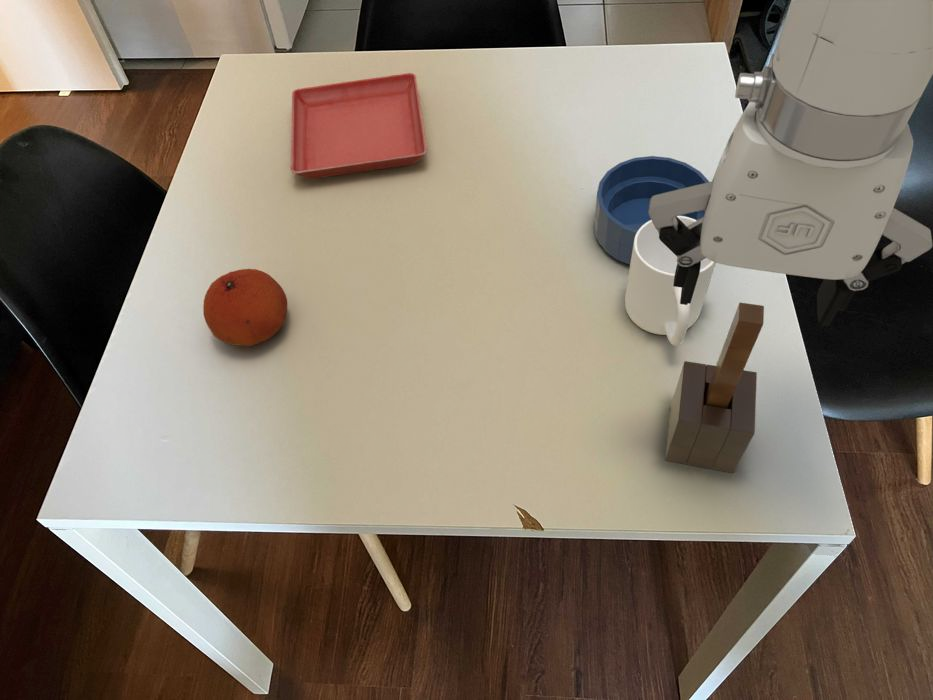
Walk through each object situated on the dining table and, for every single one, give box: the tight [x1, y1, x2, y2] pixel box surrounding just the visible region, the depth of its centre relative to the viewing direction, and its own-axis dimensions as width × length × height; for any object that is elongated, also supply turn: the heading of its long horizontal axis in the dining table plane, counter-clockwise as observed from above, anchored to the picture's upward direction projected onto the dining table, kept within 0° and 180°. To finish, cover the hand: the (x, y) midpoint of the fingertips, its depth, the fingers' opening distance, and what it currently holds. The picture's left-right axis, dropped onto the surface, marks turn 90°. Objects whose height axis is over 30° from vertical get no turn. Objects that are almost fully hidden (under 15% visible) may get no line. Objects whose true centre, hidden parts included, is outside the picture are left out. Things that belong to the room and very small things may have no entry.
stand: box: [664, 360, 758, 474], centre depth 67 cm, size 6×6×8 cm
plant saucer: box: [290, 72, 428, 179], centre depth 100 cm, size 18×18×3 cm
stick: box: [703, 302, 765, 409], centre depth 62 cm, size 2×2×20 cm
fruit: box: [202, 268, 288, 347], centre depth 80 cm, size 9×9×8 cm
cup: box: [624, 216, 717, 347], centre depth 75 cm, size 8×12×10 cm
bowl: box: [593, 155, 710, 266], centre depth 84 cm, size 13×13×6 cm
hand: (752, 300), depth 53 cm, fingers open, 9 cm apart
